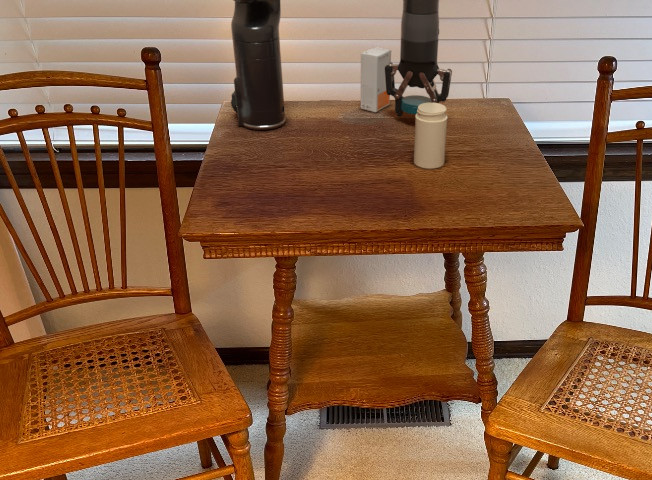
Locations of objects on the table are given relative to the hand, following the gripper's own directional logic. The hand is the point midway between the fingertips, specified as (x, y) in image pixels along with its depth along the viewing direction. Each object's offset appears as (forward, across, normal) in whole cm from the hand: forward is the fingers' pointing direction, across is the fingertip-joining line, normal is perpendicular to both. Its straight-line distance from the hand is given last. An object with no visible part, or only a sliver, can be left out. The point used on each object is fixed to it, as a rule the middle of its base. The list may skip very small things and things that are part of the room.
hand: (416, 117), depth 160 cm
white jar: (+1, +7, -19) cm, 20 cm away
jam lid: (-3, 0, 0) cm, 3 cm away
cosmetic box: (+1, -11, +6) cm, 12 cm away
